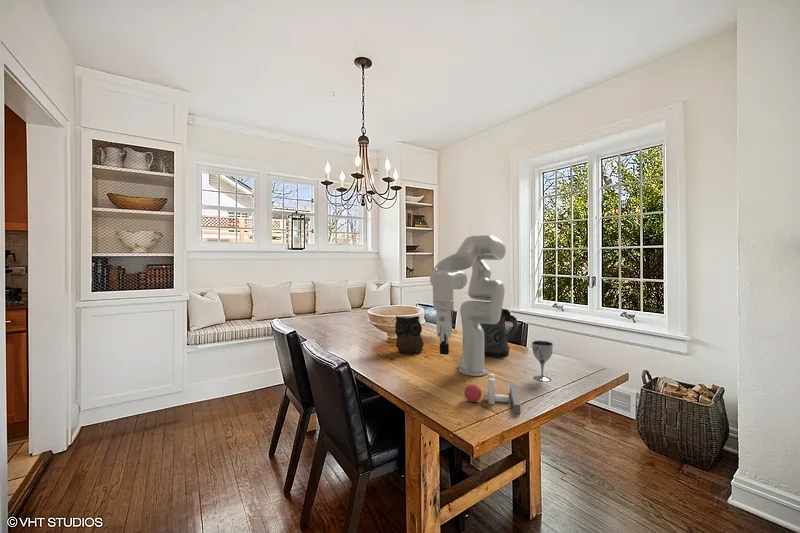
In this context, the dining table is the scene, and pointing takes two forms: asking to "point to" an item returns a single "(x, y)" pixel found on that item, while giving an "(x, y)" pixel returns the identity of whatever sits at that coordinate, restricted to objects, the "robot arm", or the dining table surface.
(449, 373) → the dining table surface
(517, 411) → the back wall
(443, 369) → the dining table surface
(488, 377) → the back left pin
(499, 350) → the beer stein
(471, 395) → the ball
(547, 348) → the wine glass
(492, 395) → the back right pin
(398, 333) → the owl
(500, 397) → the front pin
